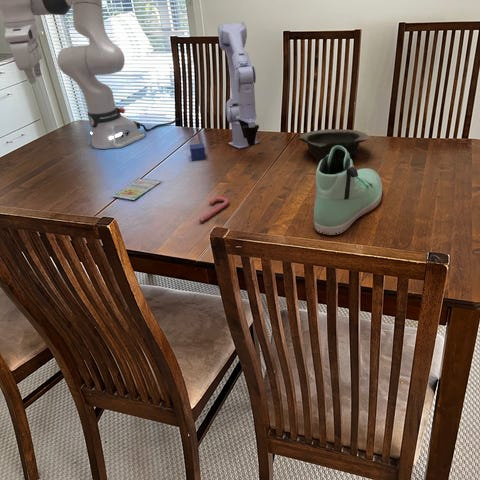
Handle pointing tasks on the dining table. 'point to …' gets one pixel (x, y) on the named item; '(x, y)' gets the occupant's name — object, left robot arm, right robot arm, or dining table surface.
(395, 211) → the dining table surface
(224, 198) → the candy cane
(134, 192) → the baking ingredient package
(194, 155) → the cube
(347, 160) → the sneaker
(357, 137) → the stone bowl
